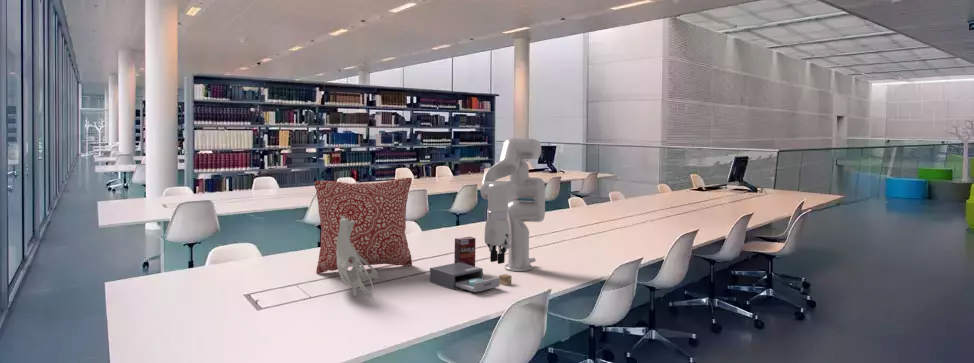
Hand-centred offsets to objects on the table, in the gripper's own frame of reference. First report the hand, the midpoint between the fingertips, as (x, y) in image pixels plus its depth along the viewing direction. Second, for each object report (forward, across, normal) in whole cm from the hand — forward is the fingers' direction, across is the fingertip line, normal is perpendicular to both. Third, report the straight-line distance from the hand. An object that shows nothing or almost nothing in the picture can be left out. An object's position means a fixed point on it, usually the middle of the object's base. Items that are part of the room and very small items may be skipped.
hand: (497, 261), depth 225 cm
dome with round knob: (+12, -13, 0) cm, 17 cm away
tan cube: (+13, -10, +14) cm, 22 cm away
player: (+13, -24, 0) cm, 27 cm away
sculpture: (+14, -40, -37) cm, 56 cm away
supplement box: (+13, -35, +13) cm, 40 cm away
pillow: (+14, -70, -17) cm, 73 cm away
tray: (+12, -13, 0) cm, 18 cm away
